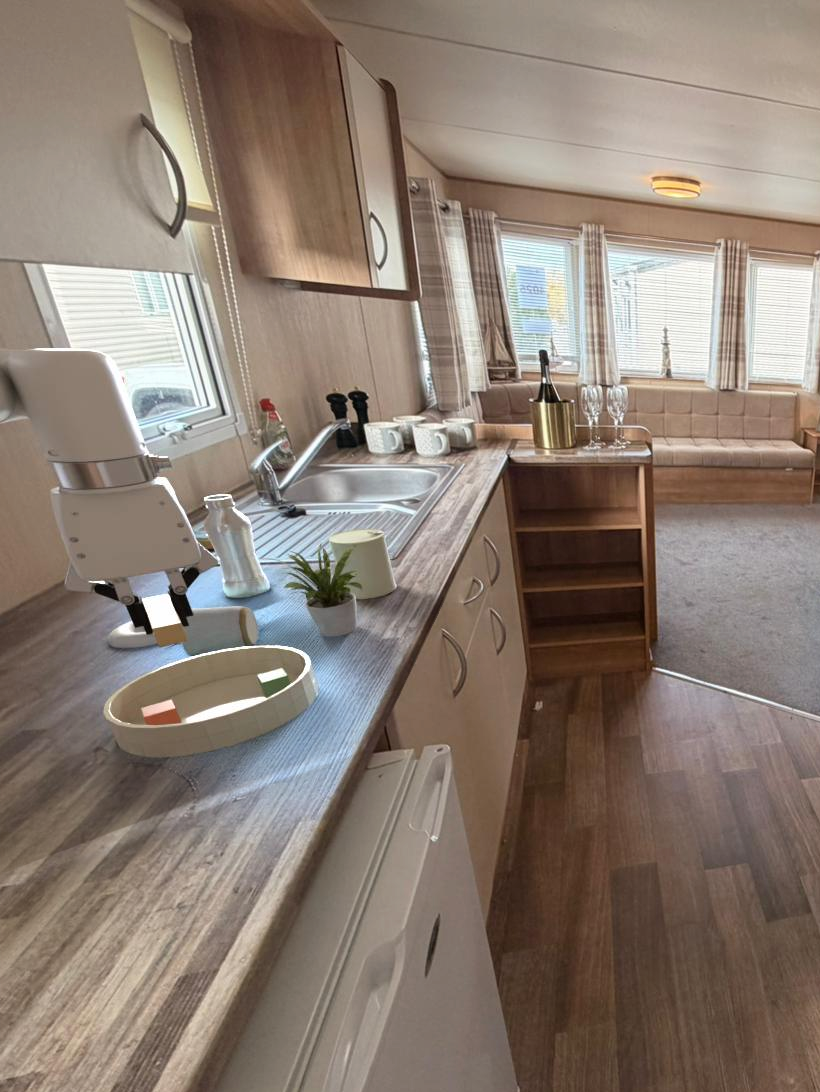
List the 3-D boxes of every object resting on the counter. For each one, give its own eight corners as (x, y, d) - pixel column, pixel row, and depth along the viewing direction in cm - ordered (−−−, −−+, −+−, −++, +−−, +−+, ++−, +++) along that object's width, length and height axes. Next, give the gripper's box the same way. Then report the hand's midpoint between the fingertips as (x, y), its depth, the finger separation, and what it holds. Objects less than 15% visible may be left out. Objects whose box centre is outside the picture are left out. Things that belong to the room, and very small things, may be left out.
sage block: (268, 701, 90) (261, 682, 89) (262, 692, 92) (256, 675, 91) (293, 693, 92) (287, 675, 91) (288, 685, 94) (282, 667, 93)
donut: (211, 630, 110) (148, 628, 109) (204, 612, 109) (141, 610, 108) (162, 658, 101) (93, 656, 100) (154, 639, 99) (84, 637, 99)
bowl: (72, 746, 81) (55, 712, 78) (238, 665, 100) (228, 637, 98) (210, 773, 77) (196, 739, 75) (355, 685, 96) (347, 656, 94)
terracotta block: (152, 736, 82) (143, 717, 81) (149, 727, 84) (140, 708, 83) (183, 727, 84) (175, 708, 83) (179, 717, 86) (171, 699, 85)
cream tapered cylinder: (401, 592, 127) (388, 536, 122) (346, 603, 122) (330, 544, 117) (392, 578, 134) (379, 523, 129) (339, 587, 128) (324, 531, 123)
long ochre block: (148, 616, 78) (141, 598, 77) (175, 611, 80) (168, 593, 79) (159, 647, 71) (151, 628, 70) (188, 641, 73) (181, 622, 72)
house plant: (273, 661, 101) (242, 566, 95) (284, 626, 112) (256, 538, 105) (379, 643, 108) (356, 553, 102) (379, 612, 119) (359, 529, 112)
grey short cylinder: (254, 655, 103) (240, 612, 100) (188, 665, 99) (171, 620, 96) (268, 629, 111) (255, 588, 108) (207, 637, 108) (192, 595, 105)
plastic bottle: (227, 597, 122) (192, 495, 114) (272, 590, 126) (241, 491, 118) (228, 609, 117) (191, 503, 109) (274, 601, 121) (242, 498, 113)
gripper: (200, 458, 76) (246, 599, 83) (-9, 476, 65) (66, 636, 72) (210, 469, 71) (259, 617, 79) (-13, 491, 60) (68, 660, 68)
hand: (166, 625), depth 75 cm, fingers closed on long ochre block, 2 cm apart
